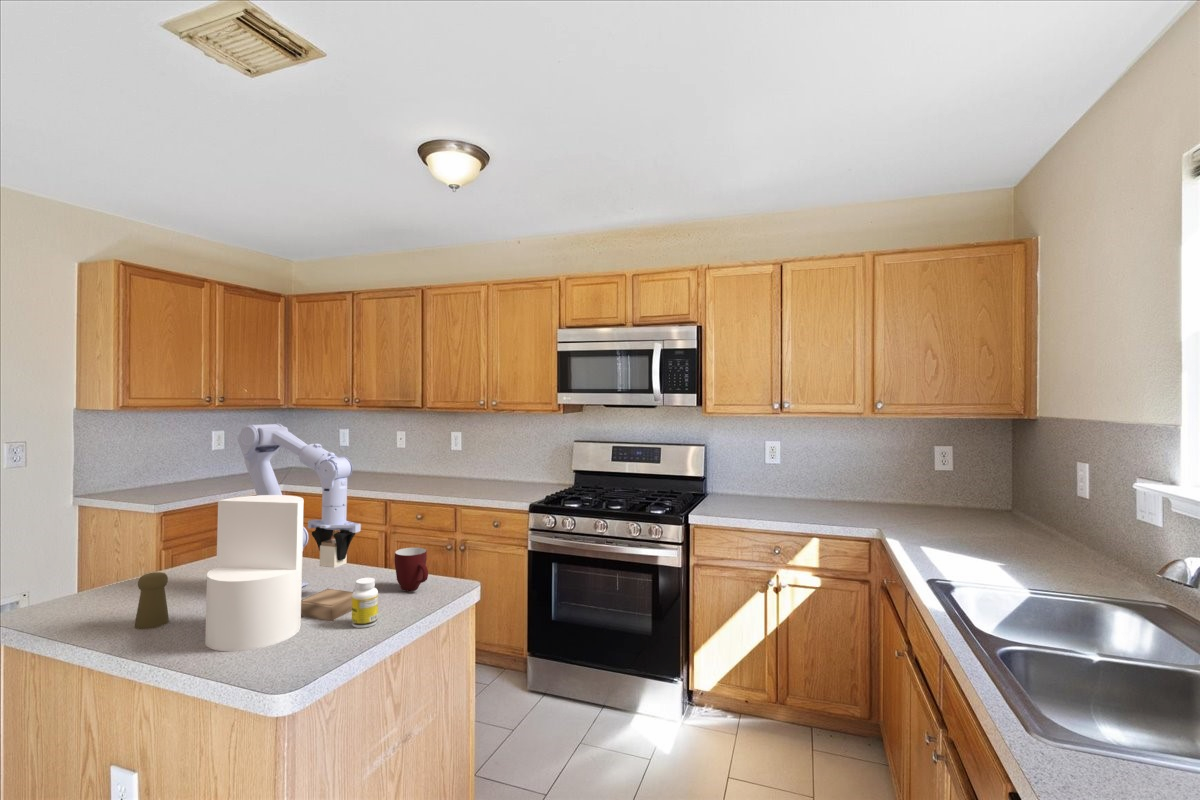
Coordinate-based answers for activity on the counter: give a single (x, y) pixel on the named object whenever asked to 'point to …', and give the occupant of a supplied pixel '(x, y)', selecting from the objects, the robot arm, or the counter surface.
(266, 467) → the robot arm
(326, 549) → the beige rectangular block
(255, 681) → the counter surface
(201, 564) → the counter surface
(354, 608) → the supplement bottle
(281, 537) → the cream chair shape
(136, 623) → the cork
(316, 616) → the tan square tray
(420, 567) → the mug
